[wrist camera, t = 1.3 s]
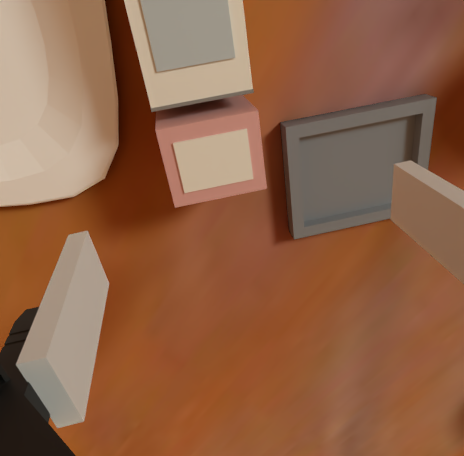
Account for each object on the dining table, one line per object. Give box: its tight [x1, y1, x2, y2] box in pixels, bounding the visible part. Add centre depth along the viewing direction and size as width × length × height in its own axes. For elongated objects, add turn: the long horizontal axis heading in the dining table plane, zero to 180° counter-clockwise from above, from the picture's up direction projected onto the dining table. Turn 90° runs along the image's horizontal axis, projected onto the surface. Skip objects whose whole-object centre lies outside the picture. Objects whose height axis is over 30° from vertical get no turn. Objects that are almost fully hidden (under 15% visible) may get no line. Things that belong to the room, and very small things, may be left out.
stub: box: [155, 95, 267, 208], centre depth 26 cm, size 5×6×7 cm
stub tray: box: [280, 94, 437, 239], centre depth 32 cm, size 10×12×2 cm
